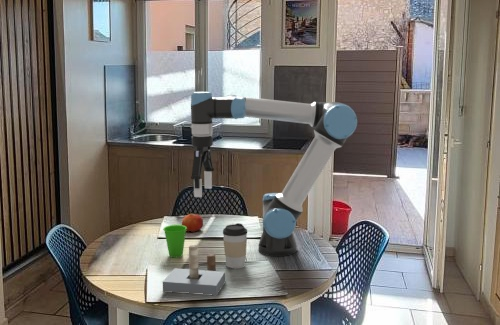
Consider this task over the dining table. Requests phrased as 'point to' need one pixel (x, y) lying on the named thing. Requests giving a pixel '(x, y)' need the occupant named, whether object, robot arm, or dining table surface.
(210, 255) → the short pin
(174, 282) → the grey block with hole
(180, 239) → the cup
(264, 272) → the dining table surface
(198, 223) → the tomato
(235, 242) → the coffee cup
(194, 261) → the long pin
